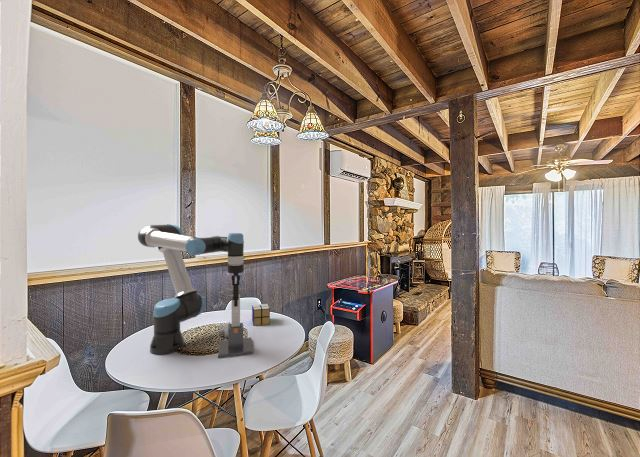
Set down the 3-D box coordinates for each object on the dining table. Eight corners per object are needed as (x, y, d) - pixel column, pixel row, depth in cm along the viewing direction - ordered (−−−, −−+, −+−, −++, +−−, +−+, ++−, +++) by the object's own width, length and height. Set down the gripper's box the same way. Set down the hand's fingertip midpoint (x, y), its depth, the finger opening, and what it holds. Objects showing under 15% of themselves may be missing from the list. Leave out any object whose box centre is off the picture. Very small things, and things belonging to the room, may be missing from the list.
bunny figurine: (220, 333, 153) (215, 321, 165) (220, 342, 153) (215, 329, 166) (238, 330, 157) (231, 318, 170) (237, 338, 158) (231, 326, 171)
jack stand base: (218, 358, 134) (217, 333, 133) (219, 343, 149) (219, 321, 149) (253, 353, 138) (253, 330, 138) (251, 340, 154) (251, 318, 153)
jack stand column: (227, 335, 140) (227, 290, 139) (227, 331, 144) (227, 288, 143) (244, 333, 142) (244, 289, 141) (244, 330, 146) (244, 287, 146)
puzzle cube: (252, 320, 183) (252, 304, 182) (267, 318, 186) (267, 303, 185) (253, 326, 173) (253, 309, 173) (269, 324, 176) (270, 308, 176)
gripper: (244, 267, 135) (244, 316, 135) (243, 261, 151) (243, 304, 152) (227, 267, 132) (227, 317, 133) (228, 261, 149) (228, 306, 150)
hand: (235, 310), depth 143 cm, fingers open, 4 cm apart
